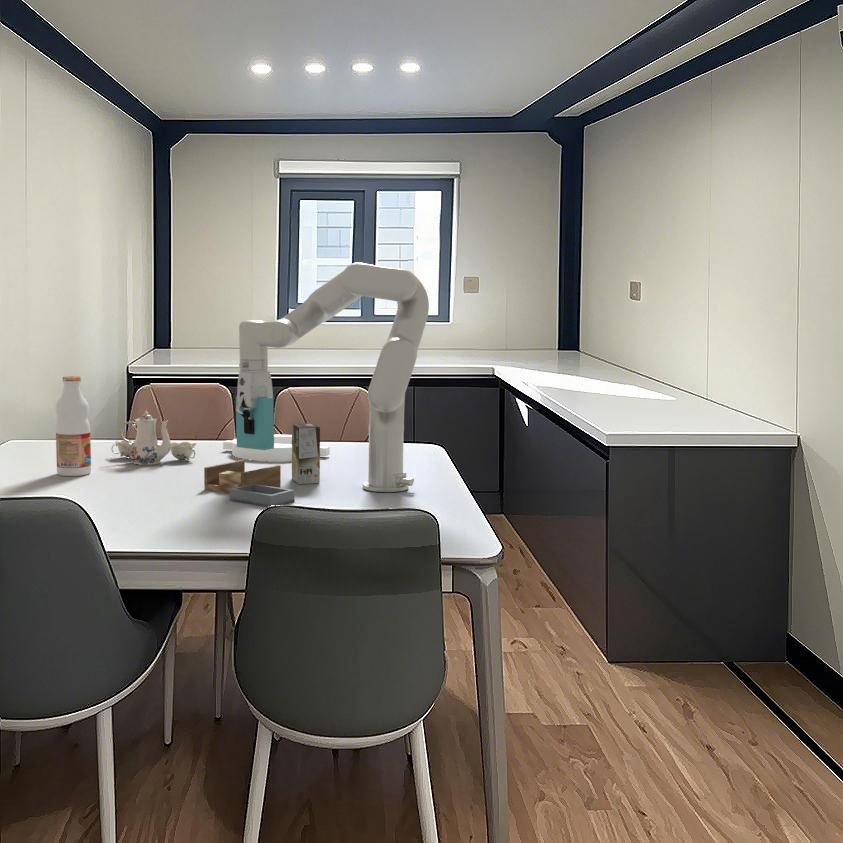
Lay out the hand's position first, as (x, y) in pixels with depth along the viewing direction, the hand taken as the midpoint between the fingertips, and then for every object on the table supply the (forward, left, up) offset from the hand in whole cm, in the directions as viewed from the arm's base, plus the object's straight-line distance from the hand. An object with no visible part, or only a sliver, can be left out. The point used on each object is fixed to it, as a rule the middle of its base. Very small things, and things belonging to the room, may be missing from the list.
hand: (255, 431), depth 291 cm
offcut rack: (0, +5, -15) cm, 16 cm away
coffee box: (-7, -14, -15) cm, 22 cm away
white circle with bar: (+29, -44, -16) cm, 55 cm away
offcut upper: (0, +8, -13) cm, 15 cm away
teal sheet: (0, 0, -4) cm, 4 cm away
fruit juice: (+52, +18, -15) cm, 57 cm away
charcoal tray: (-15, +14, -15) cm, 25 cm away
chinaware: (+51, -10, -15) cm, 54 cm away
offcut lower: (0, +8, -15) cm, 17 cm away
